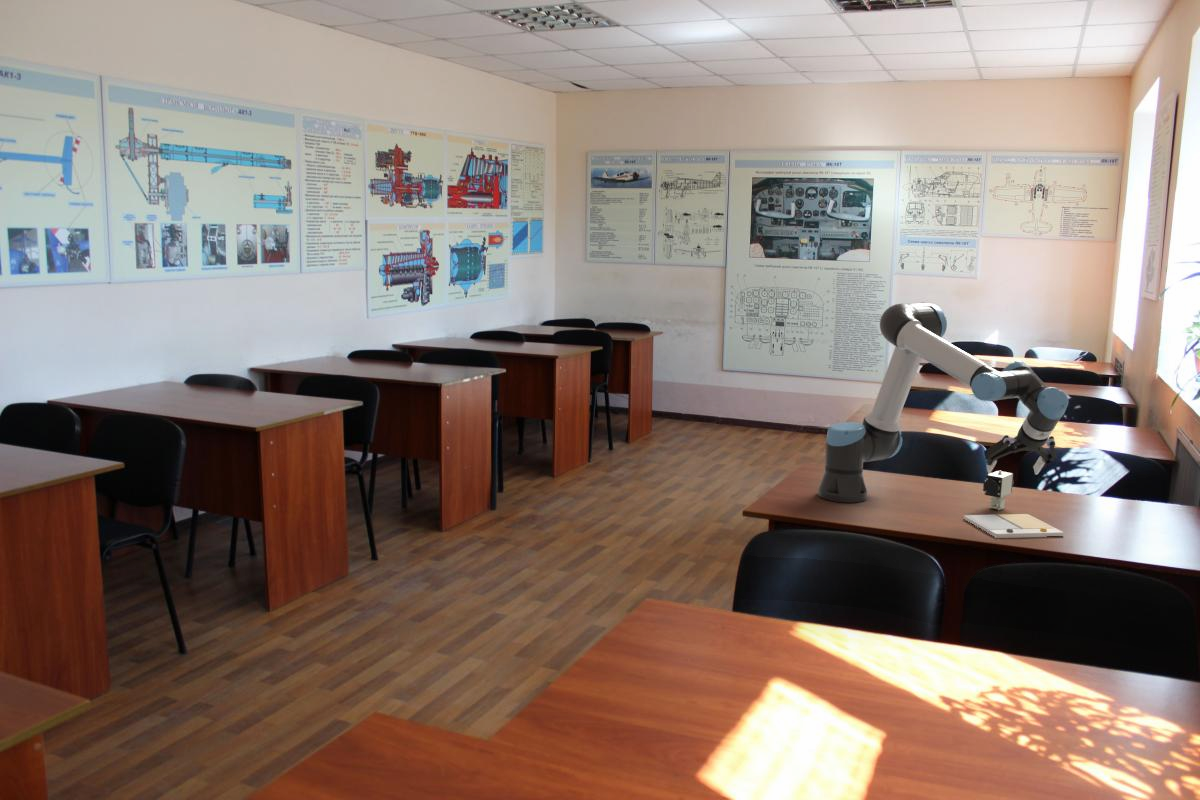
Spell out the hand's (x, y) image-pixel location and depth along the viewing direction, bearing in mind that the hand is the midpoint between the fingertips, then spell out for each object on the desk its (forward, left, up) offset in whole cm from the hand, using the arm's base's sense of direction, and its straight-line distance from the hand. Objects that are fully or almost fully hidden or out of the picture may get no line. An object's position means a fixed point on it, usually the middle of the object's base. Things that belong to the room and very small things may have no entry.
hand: (1011, 470), depth 281 cm
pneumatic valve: (-10, +1, -15) cm, 18 cm away
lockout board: (+10, -5, -14) cm, 18 cm away
